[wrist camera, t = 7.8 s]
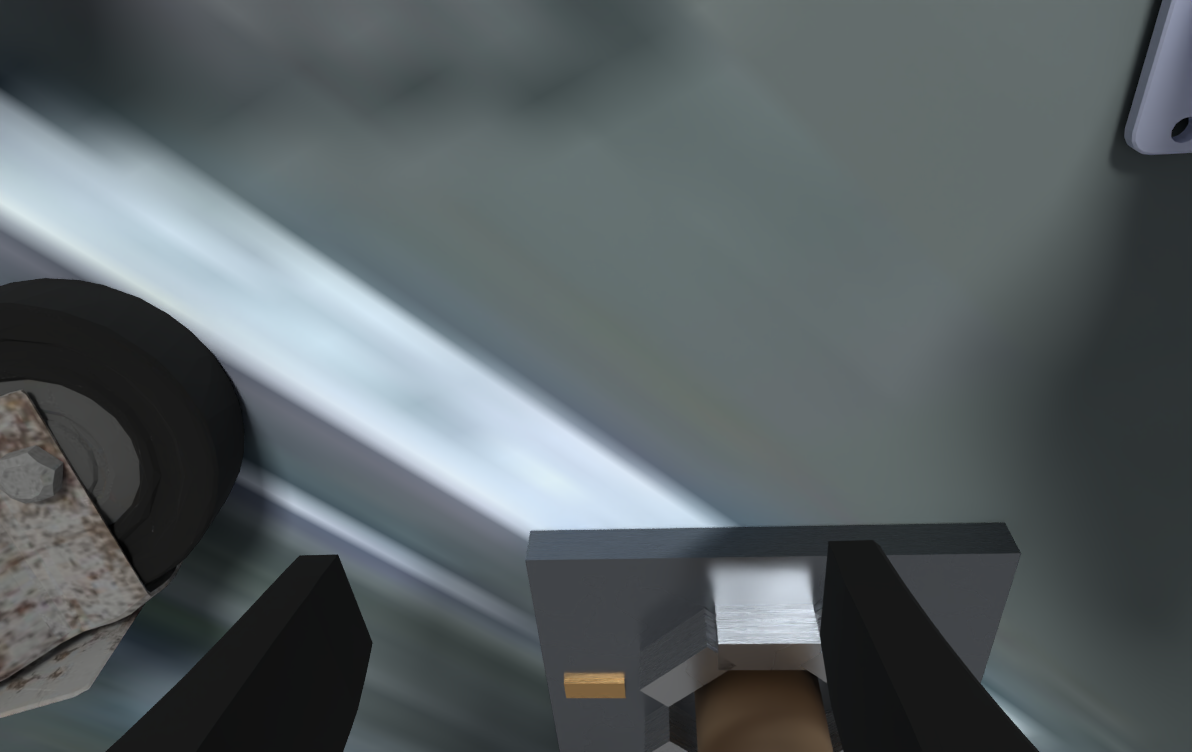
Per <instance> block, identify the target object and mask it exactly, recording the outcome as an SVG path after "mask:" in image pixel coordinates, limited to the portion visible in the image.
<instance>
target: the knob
mask: <svg viewBox="0 0 1192 752" xmlns="http://www.w3.org/2000/svg"><path fill="white" fill-rule="evenodd" d="M694 695H695V712H696V730H697V747H698V752H833V748H832V743H831V738H830V734H829V729H828V724H827V719H826V715H825V710H824V705H823V700H822V695H821V691H820V686H819V681H818V677H817V676H815V675H814V674H812V673H811V672H809V671H808V670H728V671H727V672H725V673H723V674H722V675H720V676H718V677H717V678H715V679H713V680H712V681H710V682H709V683H707V684H705V685H704V686H702V687H700V688H699V689H697V690H695V691H694Z"/></svg>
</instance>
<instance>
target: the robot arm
mask: <svg viewBox="0 0 1192 752" xmlns="http://www.w3.org/2000/svg"><path fill="white" fill-rule="evenodd" d="M1187 117H1189V122H1188V125H1187V127H1186V128H1185V130H1184V131H1183V132H1182V133H1180V134H1179V135H1177V136H1174V137H1171V133H1172V129H1173V128H1174V126H1175V124H1176V123H1178V122H1179V121H1180V120H1182V119H1184V118H1187ZM1124 138H1125V140H1126V143H1127V145H1129V146H1130V147H1131V148H1133V149H1134V150H1136V151H1138V152H1139V153H1141V154H1146V155H1161V154H1179V153H1192V0H1162V3H1161V7H1160V10H1159V14H1158V17H1157V20H1156V24H1155V27H1154V31H1153V34H1152V38H1151V41H1150V44H1149V48H1148V51H1147V55H1146V58H1145V62H1144V65H1143V68H1142V72H1141V75H1140V79H1139V82H1138V86H1137V89H1136V92H1135V96H1134V99H1133V103H1132V106H1131V109H1130V113H1129V116H1128V120H1127V123H1126V127H1125V134H1124ZM820 641H821V648H822V654H823V660H824V666H825V673H826V679H827V685H828V690H829V696H830V702H831V707H832V711H833V715H834V719H835V722H836V726H837V730H838V733H839V737H840V741H841V744H842V748H843V752H1039V751H1038V750H1037V748H1036V747H1035V746H1034V745H1033V744H1032V743H1031V742H1030V741H1029V740H1028V738H1027V737H1026V736H1025V735H1024V734H1023V733H1022V732H1021V730H1020V729H1019V728H1018V727H1017V726H1016V725H1015V724H1014V722H1013V721H1012V720H1011V719H1010V718H1009V717H1008V716H1007V714H1006V713H1005V712H1004V711H1003V710H1002V709H1001V708H1000V706H999V705H998V704H997V703H996V702H995V700H994V699H993V698H992V697H991V696H990V694H989V693H988V692H987V691H986V690H985V688H984V687H983V686H982V685H981V684H980V682H979V681H978V680H977V679H976V677H975V676H974V675H973V674H972V672H971V671H970V670H969V669H968V667H967V666H966V665H965V664H964V662H963V661H962V660H961V659H960V657H959V656H958V655H957V653H956V652H955V651H954V650H953V648H952V647H951V646H950V645H949V643H948V642H947V641H946V640H945V638H944V637H943V636H942V634H941V633H940V632H939V630H938V629H937V628H936V626H935V625H934V624H933V622H932V621H931V620H930V618H929V617H928V615H927V614H926V613H925V611H924V610H923V608H922V607H921V606H920V604H919V603H918V602H917V600H916V599H915V597H914V596H913V595H912V593H911V592H910V590H909V589H908V587H907V586H906V585H905V583H904V582H903V580H902V579H901V577H900V576H899V574H898V573H897V571H896V570H895V568H894V567H893V565H892V564H891V562H890V561H889V559H888V558H887V556H886V554H885V553H884V551H883V550H882V548H881V546H880V545H878V544H877V543H876V542H875V541H874V540H853V541H828V552H827V563H826V573H825V584H824V595H823V605H822V616H821V627H820ZM371 648H372V640H371V638H370V635H369V632H368V630H367V627H366V625H365V622H364V620H363V617H362V615H361V612H360V609H359V607H358V604H357V602H356V599H355V597H354V594H353V592H352V589H351V587H350V584H349V581H348V579H347V576H346V574H345V571H344V569H343V566H342V564H341V561H340V558H339V556H338V555H304V556H299V557H298V558H297V559H296V560H295V561H294V562H293V563H292V564H291V565H290V566H289V567H288V568H287V569H286V570H285V571H284V572H283V573H282V574H281V575H280V576H279V577H278V578H277V580H276V581H275V582H274V583H273V584H272V585H271V586H270V587H269V588H268V589H267V590H266V591H265V592H264V593H263V594H262V596H261V597H260V598H259V599H258V600H257V601H256V602H255V603H254V604H253V605H252V606H251V607H250V608H249V609H248V610H247V612H246V613H245V614H244V615H243V616H242V617H241V618H240V619H239V620H238V621H237V622H236V623H235V624H234V625H233V626H232V628H231V629H230V630H229V631H228V632H227V633H226V634H225V635H224V636H223V637H222V638H221V639H220V640H219V641H218V642H217V643H216V644H215V645H214V646H213V647H212V648H211V649H210V650H209V651H208V653H207V654H206V655H205V656H204V657H203V658H202V659H201V660H200V661H199V662H198V663H197V664H196V665H195V666H194V667H193V668H192V669H191V670H190V671H189V672H188V673H187V674H186V675H185V676H184V677H183V678H182V679H181V680H180V681H179V682H178V683H177V684H176V685H175V686H174V687H173V688H172V689H171V690H170V691H169V692H168V693H167V694H166V695H165V696H164V697H163V698H162V699H161V700H159V701H158V702H157V703H156V704H155V705H154V706H153V707H152V708H151V709H150V710H149V711H148V712H147V713H146V714H145V715H144V716H143V717H142V718H141V719H140V720H139V721H138V722H137V723H136V724H135V725H134V726H133V727H131V728H130V729H129V730H128V731H127V732H126V733H125V734H124V735H123V736H122V737H121V738H120V739H119V740H118V741H117V742H116V743H114V744H113V745H112V746H111V747H110V748H109V749H108V750H107V751H106V752H343V751H344V748H345V745H346V742H347V739H348V736H349V734H350V731H351V728H352V725H353V722H354V719H355V716H356V713H357V710H358V706H359V702H360V698H361V694H362V689H363V685H364V681H365V677H366V672H367V667H368V662H369V658H370V653H371Z"/></svg>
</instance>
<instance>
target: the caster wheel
mask: <svg viewBox="0 0 1192 752" xmlns="http://www.w3.org/2000/svg"><path fill="white" fill-rule="evenodd" d="M243 454H244V426H243V420H242V413H241V408H240V405H239V401H238V398H237V396H236V394H235V392H234V389H233V387H232V385H231V383H230V381H229V379H228V377H227V376H226V374H225V372H224V371H223V369H222V368H221V366H220V365H219V363H218V362H217V360H216V359H215V357H214V355H213V354H212V353H211V352H210V351H209V350H208V349H207V348H206V347H205V346H204V345H203V344H202V343H201V342H200V341H199V340H198V339H197V338H196V336H195V335H194V334H193V333H192V332H191V331H190V330H188V329H187V328H186V327H184V326H183V325H182V324H180V323H179V322H178V321H176V320H175V319H174V318H173V317H171V316H170V315H169V314H167V313H165V312H163V311H162V310H160V309H158V308H156V307H155V306H153V305H151V304H149V303H148V302H146V301H144V300H142V299H140V298H138V297H135V296H133V295H130V294H127V293H124V292H121V291H118V290H116V289H113V288H110V287H107V286H104V285H100V284H95V283H90V282H85V281H80V280H66V279H49V278H43V279H35V280H28V281H20V282H13V283H9V284H6V285H3V286H0V718H2V717H5V716H9V715H13V714H16V713H20V712H23V711H27V710H30V709H34V708H37V707H41V706H44V705H48V704H51V703H55V702H58V701H62V700H65V699H69V698H72V697H75V696H77V695H79V694H81V693H83V692H85V691H86V690H88V689H90V687H91V685H92V684H93V682H94V681H95V679H96V678H97V676H98V675H99V673H100V672H101V670H102V669H103V667H104V666H105V664H106V662H107V661H108V659H109V658H110V656H111V655H112V653H113V652H114V650H115V649H116V647H117V646H118V644H119V643H120V641H121V639H122V638H123V636H124V635H125V633H126V632H127V630H128V629H129V627H130V626H131V624H132V623H133V621H134V620H135V618H136V616H137V615H138V613H139V612H140V610H141V609H142V607H143V606H144V604H145V603H146V602H147V601H148V600H150V599H151V598H152V597H153V596H155V595H156V594H157V593H159V592H160V591H161V590H162V589H164V588H165V587H166V586H167V585H168V584H169V583H170V582H171V581H172V579H173V578H174V577H175V576H176V574H177V572H178V570H179V568H180V566H181V564H182V561H183V560H184V559H185V558H186V557H187V556H188V555H189V553H190V552H191V551H192V550H193V548H194V547H195V546H196V545H197V543H198V542H199V541H200V540H201V538H202V537H203V535H204V534H205V532H206V530H207V529H208V527H209V526H210V524H211V523H212V521H213V520H214V518H215V516H216V515H217V513H218V512H219V510H220V509H221V507H222V506H223V504H224V503H225V501H226V499H227V497H228V495H229V494H230V491H231V489H232V487H233V485H234V483H235V481H236V478H237V476H238V474H239V472H240V467H241V463H242V458H243Z"/></svg>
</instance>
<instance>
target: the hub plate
mask: <svg viewBox="0 0 1192 752" xmlns="http://www.w3.org/2000/svg"><path fill="white" fill-rule="evenodd" d="M853 540H874V541H875V542H876V543H877V544H878V545H880V546H881V548H882V550H883V551H884V553H885V554H886V556H887V558H888V559H889V561H890V562H891V564H892V565H893V567H894V568H895V570H896V571H897V573H898V574H899V576H900V577H901V579H902V580H903V582H904V583H905V585H906V586H907V587H908V589H909V590H910V592H911V593H912V595H913V596H914V597H915V599H916V600H917V602H918V603H919V604H920V606H921V607H922V608H923V610H924V611H925V613H926V614H927V615H928V617H929V618H930V620H931V621H932V622H933V624H934V625H935V626H936V628H937V629H938V630H939V632H940V633H941V634H942V636H943V637H944V638H945V640H946V641H947V642H948V643H949V645H950V646H951V647H952V648H953V650H954V651H955V652H956V653H957V655H958V656H959V657H960V659H961V660H962V661H963V662H964V664H965V665H966V666H967V667H968V669H969V670H970V671H971V672H972V674H973V675H974V676H975V677H976V679H977V680H978V681H979V682H980V683H981V680H982V677H983V674H984V671H985V667H986V664H987V661H988V658H989V655H990V651H991V648H992V645H993V642H994V639H995V635H996V632H997V629H998V626H999V623H1000V619H1001V616H1002V613H1003V610H1004V607H1005V603H1006V600H1007V597H1008V594H1009V590H1010V587H1011V584H1012V581H1013V578H1014V574H1015V571H1016V568H1017V565H1018V562H1019V558H1020V555H1021V552H1020V550H1019V549H1018V547H1017V545H1016V543H1015V541H1014V539H1013V537H1012V536H1011V534H1010V532H1009V530H1008V528H1007V526H1006V524H1005V523H966V524H908V525H849V526H791V527H732V528H673V529H615V530H556V531H530V537H529V542H528V548H527V554H526V560H525V561H526V566H527V572H528V577H529V583H530V588H531V594H532V599H533V605H534V611H535V616H536V622H537V627H538V633H539V638H540V644H541V650H542V655H543V661H544V666H545V672H546V677H547V683H548V688H549V694H550V700H551V705H552V711H553V716H554V722H555V727H556V733H557V739H558V744H559V750H560V752H698V747H697V730H696V712H695V695H694V691H695V690H697V689H699V688H700V687H702V686H704V685H705V684H707V683H709V682H710V681H712V680H713V679H715V678H717V677H718V676H720V675H722V674H723V673H725V672H727V671H728V670H808V671H809V672H811V673H812V674H814V675H815V676H817V677H818V681H819V686H820V691H821V695H822V700H823V705H824V710H825V715H826V719H827V724H828V729H829V734H830V738H831V743H832V748H833V752H843V748H842V744H841V741H840V737H839V733H838V730H837V726H836V722H835V719H834V715H833V711H832V707H831V702H830V696H829V690H828V685H827V679H826V673H825V666H824V660H823V654H822V648H821V641H820V627H821V616H822V605H823V595H824V584H825V573H826V563H827V552H828V541H853Z"/></svg>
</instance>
